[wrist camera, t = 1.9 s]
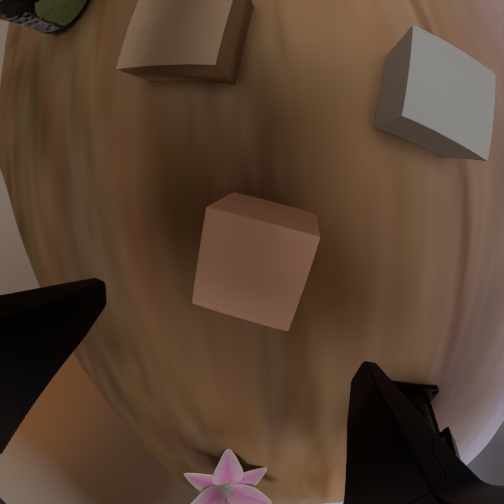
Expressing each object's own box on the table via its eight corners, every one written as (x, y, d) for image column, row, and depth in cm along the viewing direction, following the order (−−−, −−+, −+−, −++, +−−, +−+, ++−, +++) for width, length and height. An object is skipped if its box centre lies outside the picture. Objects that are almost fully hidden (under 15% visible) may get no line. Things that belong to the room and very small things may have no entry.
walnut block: (254, 8, 12) (240, -24, 8) (235, 84, 14) (215, 65, 10) (171, 11, 12) (143, -12, 9) (151, 81, 15) (116, 69, 11)
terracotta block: (315, 213, 16) (320, 237, 11) (293, 286, 18) (288, 331, 13) (234, 191, 16) (206, 206, 12) (219, 265, 18) (192, 303, 13)
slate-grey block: (453, 89, 11) (495, 74, 6) (442, 157, 13) (487, 161, 8) (385, 57, 11) (412, 24, 7) (372, 127, 13) (401, 115, 9)
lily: (280, 477, 30) (290, 517, 20) (211, 497, 29) (207, 536, 19) (246, 426, 31) (249, 466, 21) (172, 448, 30) (157, 487, 20)
